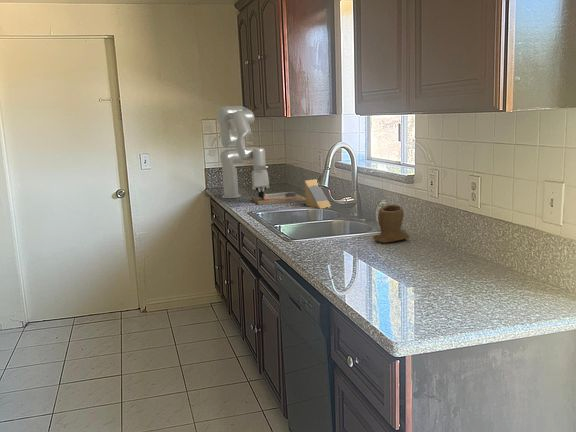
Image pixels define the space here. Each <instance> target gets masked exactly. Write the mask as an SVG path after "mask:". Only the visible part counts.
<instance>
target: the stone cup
mask: <svg viewBox="0 0 576 432" xmlns="http://www.w3.org/2000/svg"><path fill="white" fill-rule="evenodd" d="M377 213H378V214H377V220H378V225H379V228H380V233H379V234H376V235H374V236H373V238H372V239H373V240H374V241H375V242H379V243H384V244H385V243H392V242H398V241H402V240H407V239H410V235H409V234H408V233H407V232H406V230H405V229H402V224H403V220H404V217H405V216H404V214H405V213H404V209H403V207H402V206H400V205H399V204H387V205H384V206H381V207H380V208H379V209H378V212H377Z"/></svg>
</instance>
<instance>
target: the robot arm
mask: <svg viewBox="0 0 576 432" xmlns="http://www.w3.org/2000/svg"><path fill="white" fill-rule="evenodd" d="M217 120H218V124H219V128H220V141H221V145H222V147H223V148H225V150H222V151H221V152H220V155H219V158H220V162H221V163H220V164H221V168H222V169H221V170H222V184H223V195H222V196H221V198H222V199H238V198H241V194H240V193H239V183H238V182H239V181H238V171H237V168H236V166H235V165H236V164H243V163H244V162H246V161H252V163H253V164H252V165H253V170H252V171H251V189H252V190H256V191H257V192H258V197H260V198H263V197H264V192H265V191H266V189H270V180H269V173H268V170H267V169H269V165H266V164H267V163H266V149H265V148H263V147H252V146H251V147H246V138H247V137H249V136H251V133H252V129H251V127H250V124H253V123H254V121H255V114H254V112H253V111H252V110H251V109H249V108H247V107H245V106H243V105H227V106H222V107H220V108H219V109H218V110H217ZM231 120H232V121H231ZM232 122H233V123H232ZM233 124H234V125H233ZM234 127H235V130H236V132H234ZM226 148H227V149H226ZM228 148H230V149H228ZM231 148H232V149H231ZM233 148H234V149H233Z"/></svg>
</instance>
